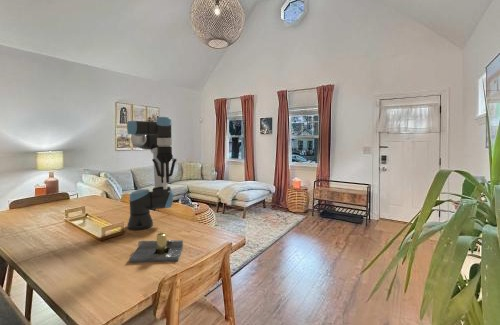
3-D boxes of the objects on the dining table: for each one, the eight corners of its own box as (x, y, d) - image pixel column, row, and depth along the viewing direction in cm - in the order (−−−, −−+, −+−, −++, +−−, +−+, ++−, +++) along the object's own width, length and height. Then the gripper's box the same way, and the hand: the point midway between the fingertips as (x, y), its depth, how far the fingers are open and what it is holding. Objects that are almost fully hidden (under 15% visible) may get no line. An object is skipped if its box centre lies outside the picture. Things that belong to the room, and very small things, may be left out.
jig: (129, 262, 118) (129, 253, 118) (139, 249, 132) (139, 241, 132) (178, 261, 120) (177, 252, 120) (183, 248, 134) (182, 240, 134)
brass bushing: (155, 255, 125) (154, 235, 124) (162, 251, 129) (161, 232, 128) (162, 257, 123) (161, 237, 122) (168, 253, 127) (168, 233, 126)
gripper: (150, 146, 134) (151, 190, 137) (175, 146, 135) (176, 190, 138) (154, 145, 142) (155, 187, 144) (178, 145, 143) (178, 187, 145)
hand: (165, 188), depth 141 cm, fingers closed
